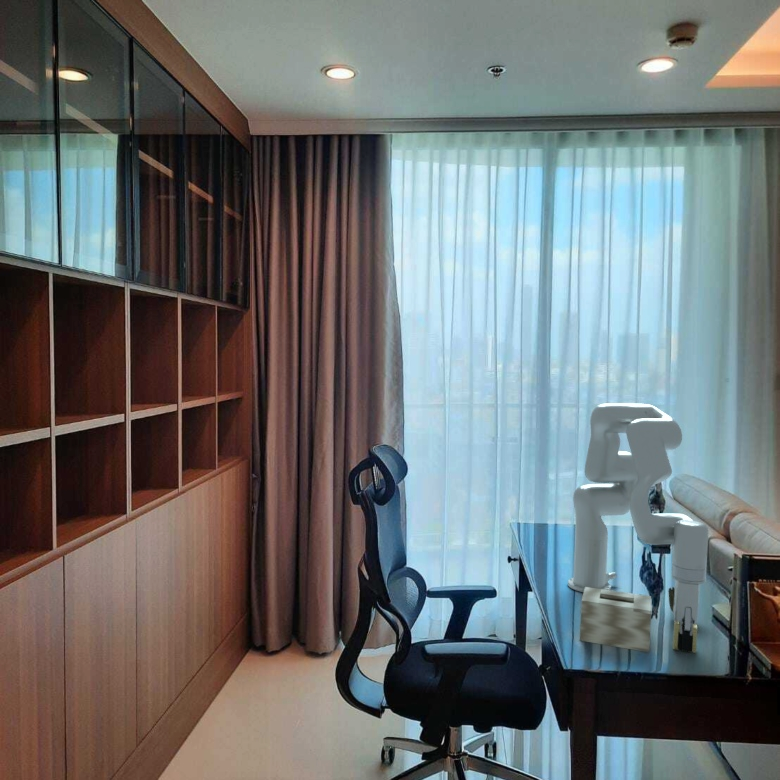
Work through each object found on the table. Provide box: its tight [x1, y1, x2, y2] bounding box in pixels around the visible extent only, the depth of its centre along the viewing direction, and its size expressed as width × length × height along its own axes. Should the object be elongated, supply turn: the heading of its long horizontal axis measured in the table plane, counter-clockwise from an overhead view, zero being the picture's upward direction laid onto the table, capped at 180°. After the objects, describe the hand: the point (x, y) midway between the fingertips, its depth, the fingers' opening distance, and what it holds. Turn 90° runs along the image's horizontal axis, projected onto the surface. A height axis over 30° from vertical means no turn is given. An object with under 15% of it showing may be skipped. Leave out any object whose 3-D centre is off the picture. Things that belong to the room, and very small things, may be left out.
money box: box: [579, 587, 652, 653], centre depth 168 cm, size 16×11×10 cm
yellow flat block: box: [672, 620, 698, 654], centre depth 163 cm, size 5×2×6 cm, turn 69°
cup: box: [668, 586, 675, 613], centre depth 182 cm, size 8×7×8 cm
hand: (684, 647), depth 163 cm, fingers closed on yellow flat block, 2 cm apart
